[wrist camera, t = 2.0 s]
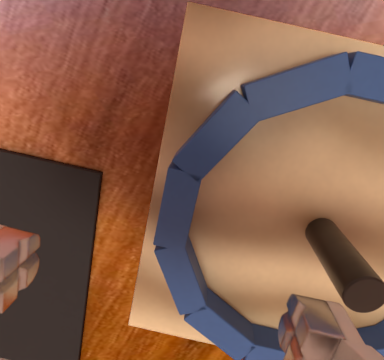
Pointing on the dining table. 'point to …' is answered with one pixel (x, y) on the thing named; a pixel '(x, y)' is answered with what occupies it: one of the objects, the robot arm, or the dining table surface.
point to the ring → (211, 155)
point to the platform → (272, 182)
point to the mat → (49, 254)
